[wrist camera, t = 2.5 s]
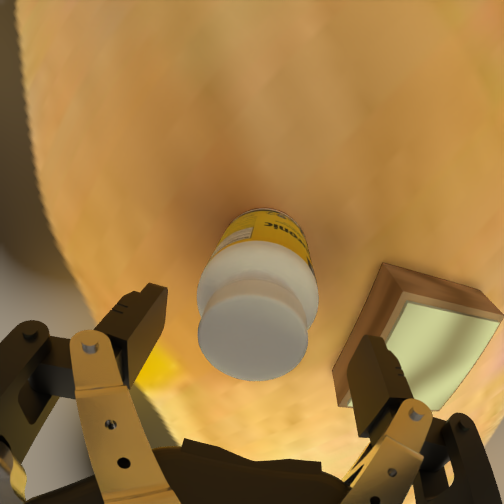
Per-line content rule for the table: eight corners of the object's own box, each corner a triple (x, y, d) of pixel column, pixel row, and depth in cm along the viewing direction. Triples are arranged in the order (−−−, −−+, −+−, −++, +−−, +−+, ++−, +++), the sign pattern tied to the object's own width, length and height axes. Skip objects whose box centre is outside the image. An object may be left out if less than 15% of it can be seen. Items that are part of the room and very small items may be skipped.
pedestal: (332, 370, 23) (338, 409, 19) (382, 262, 19) (404, 293, 15) (425, 380, 23) (439, 413, 19) (479, 290, 19) (506, 317, 15)
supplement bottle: (322, 258, 19) (352, 361, 10) (253, 297, 21) (235, 408, 12) (276, 188, 18) (274, 246, 9) (206, 235, 19) (148, 321, 10)
